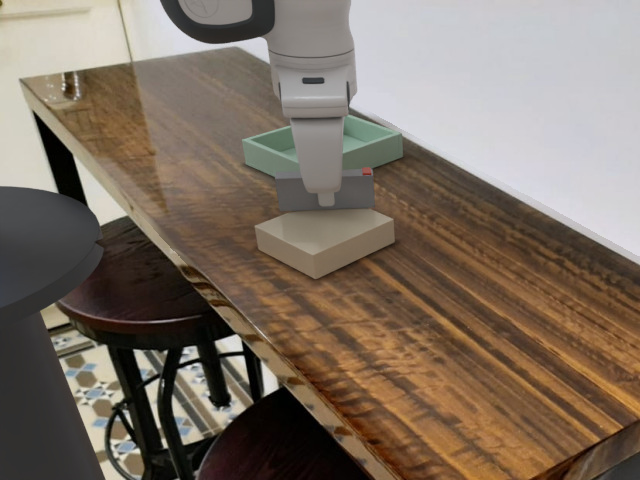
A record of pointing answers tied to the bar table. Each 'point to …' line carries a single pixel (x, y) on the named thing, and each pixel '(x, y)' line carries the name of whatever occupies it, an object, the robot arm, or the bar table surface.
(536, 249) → the bar table surface
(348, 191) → the slate gray plank
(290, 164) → the green tray
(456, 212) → the bar table surface
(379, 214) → the block
